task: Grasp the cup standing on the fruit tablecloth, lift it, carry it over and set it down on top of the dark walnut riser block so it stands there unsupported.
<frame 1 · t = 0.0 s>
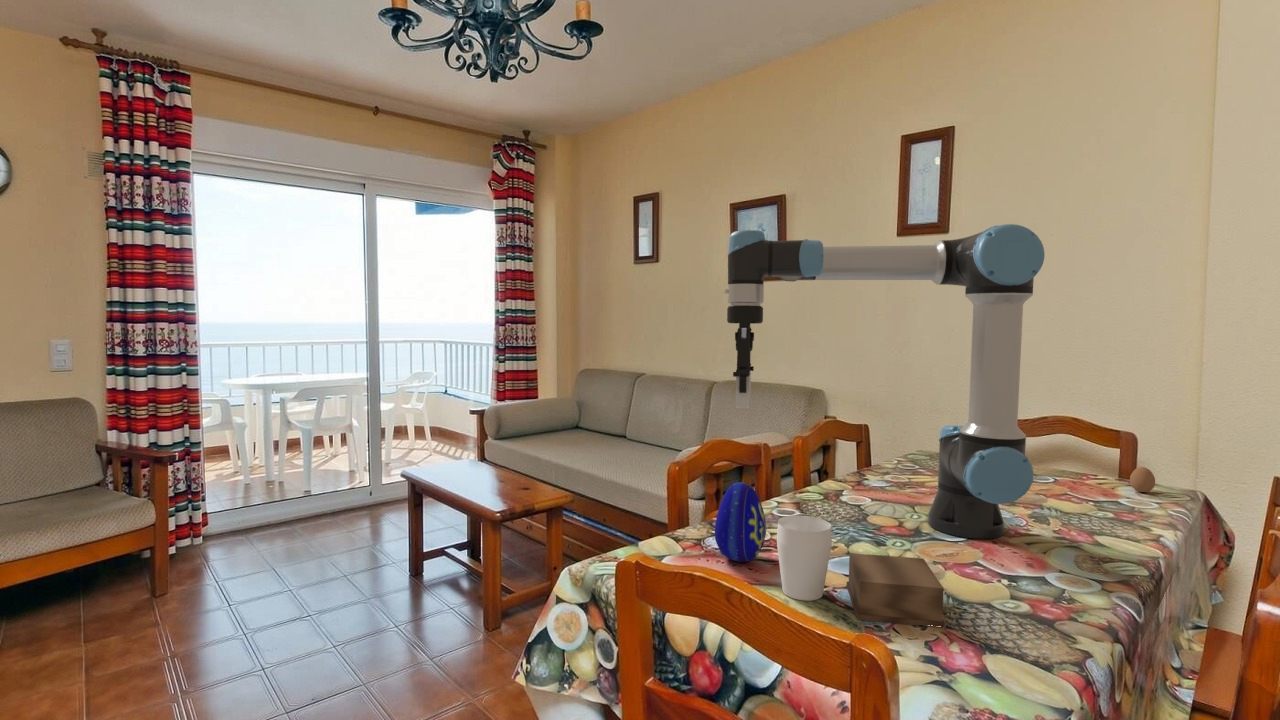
hand: (743, 404, 135), 28 cm above the table, fingers open, 13 cm apart
egg: (1141, 493, 172), on the table
riser: (892, 605, 102), on the table
ornament: (739, 560, 122), on the table
cup: (802, 593, 107), on the table
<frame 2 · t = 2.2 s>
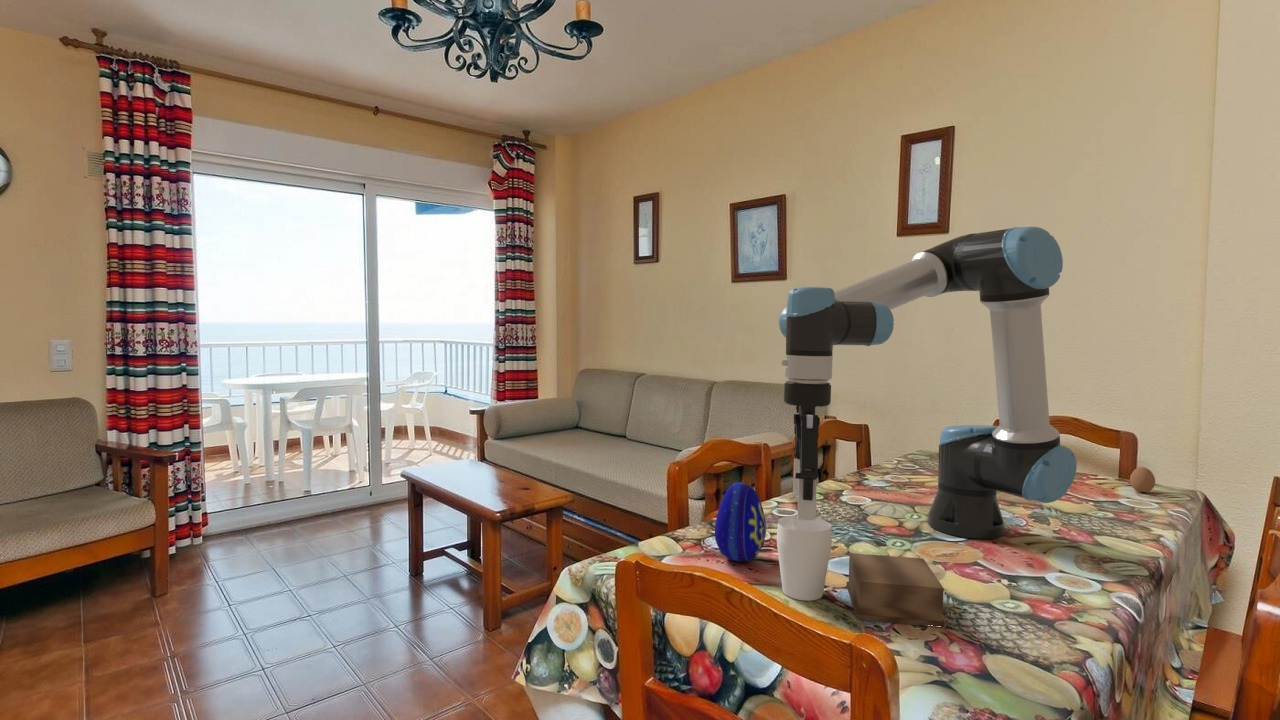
hand: (803, 506, 106), 15 cm above the table, fingers open, 13 cm apart
nothing on the table moved.
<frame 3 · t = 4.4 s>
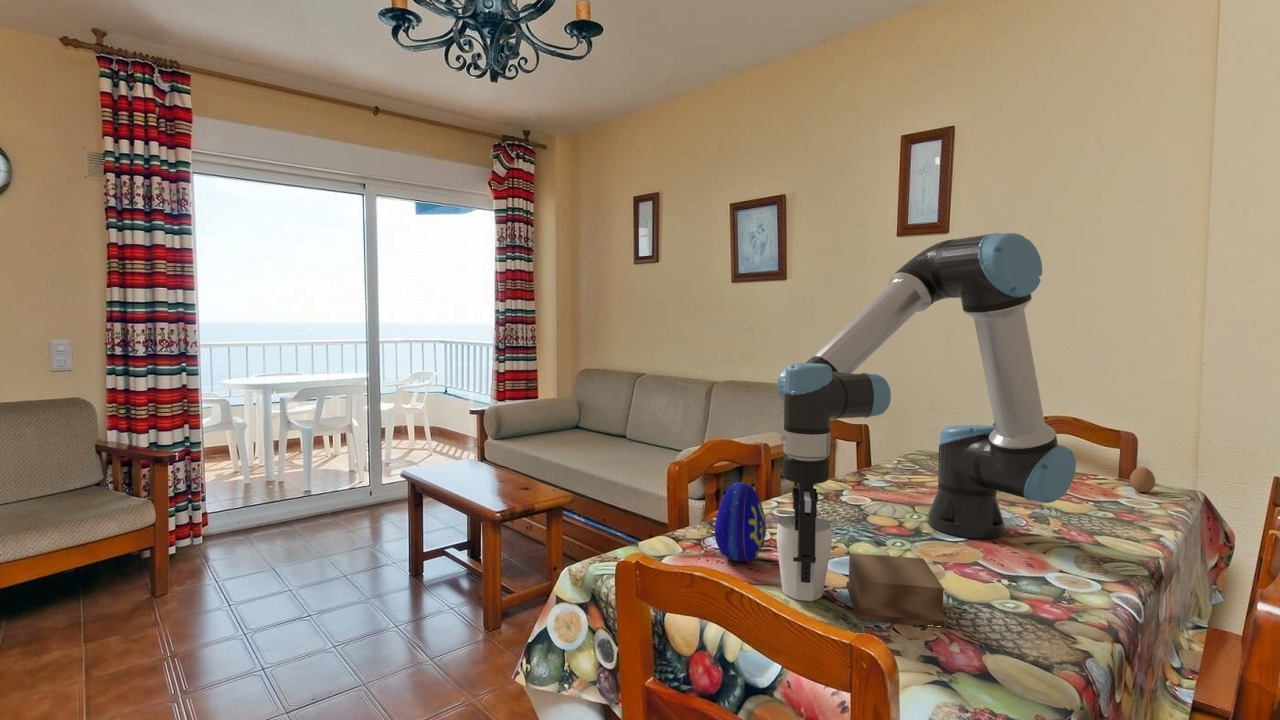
hand: (802, 587, 107), 1 cm above the table, fingers closed on cup, 9 cm apart
cup: (802, 593, 107), on the table, touching gripper
everything else where it was.
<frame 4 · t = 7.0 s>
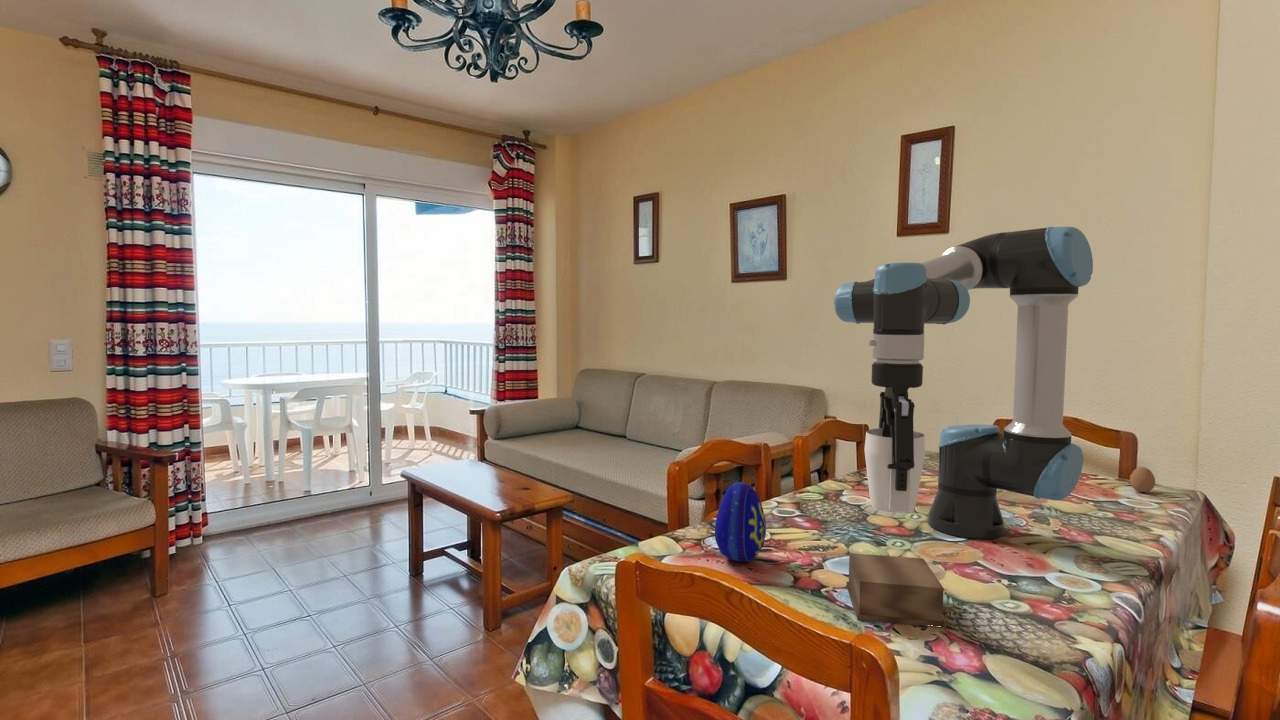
hand: (892, 501, 102), 17 cm above the table, fingers closed on cup, 9 cm apart
cup: (892, 508, 102), point 16 cm above the table, touching gripper
everything else where it was.
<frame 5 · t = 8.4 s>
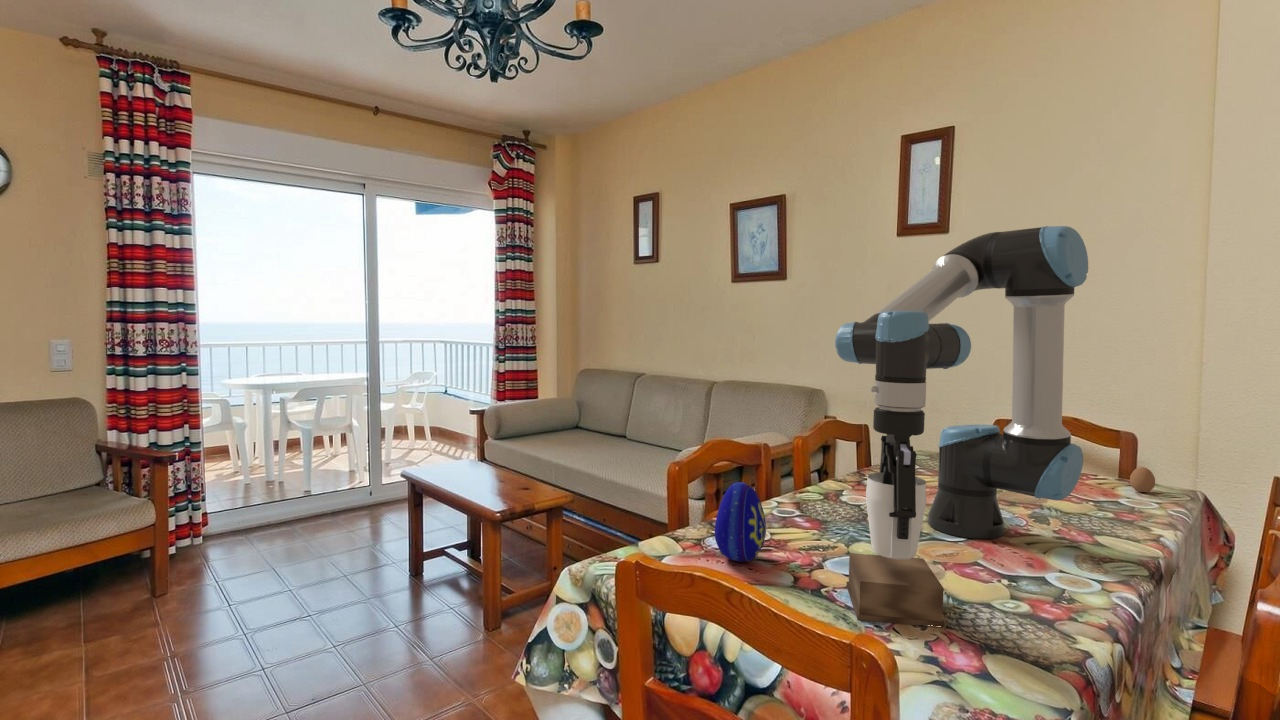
hand: (893, 546, 102), 10 cm above the table, fingers closed on cup, 9 cm apart
cup: (893, 553, 102), point 9 cm above the table, touching gripper
everything else where it was.
when the fingers open (8 cm above the table, at t = 9.6 s): cup drops 1 cm, resting on riser.
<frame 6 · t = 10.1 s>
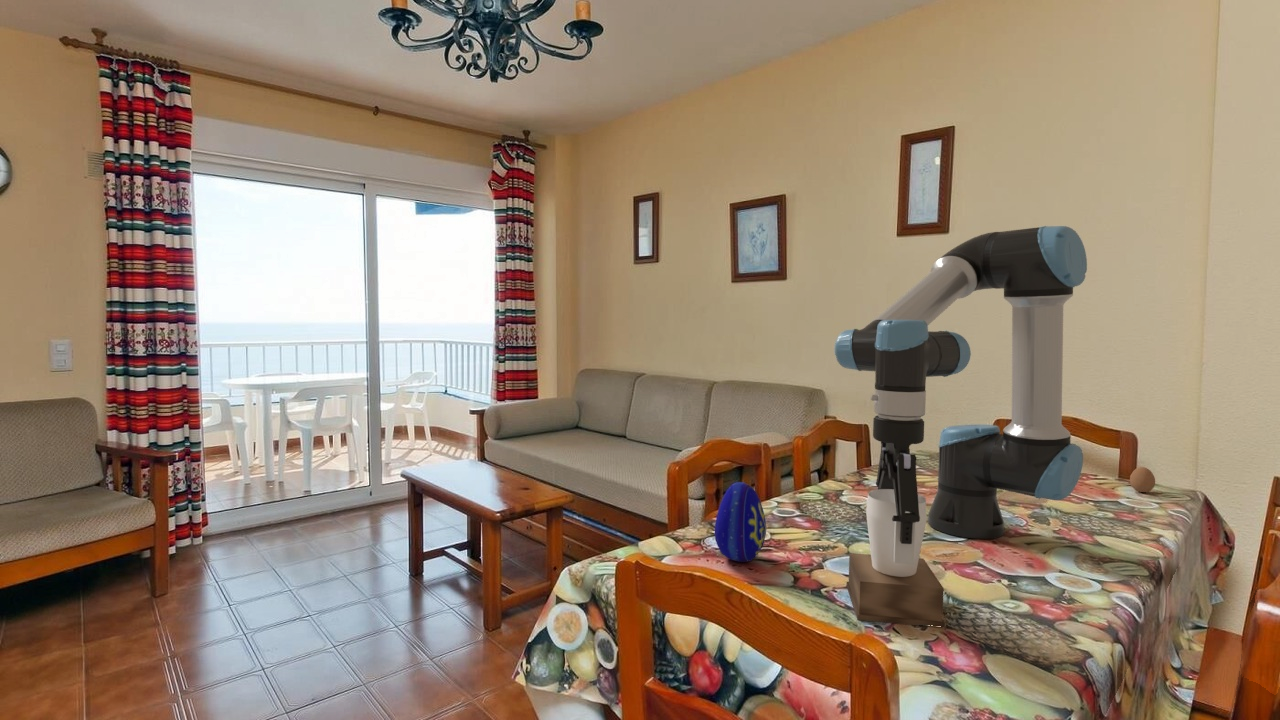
hand: (894, 547, 102), 10 cm above the table, fingers open, 13 cm apart
cup: (893, 570, 102), point 6 cm above the table, touching riser
everything else where it was.
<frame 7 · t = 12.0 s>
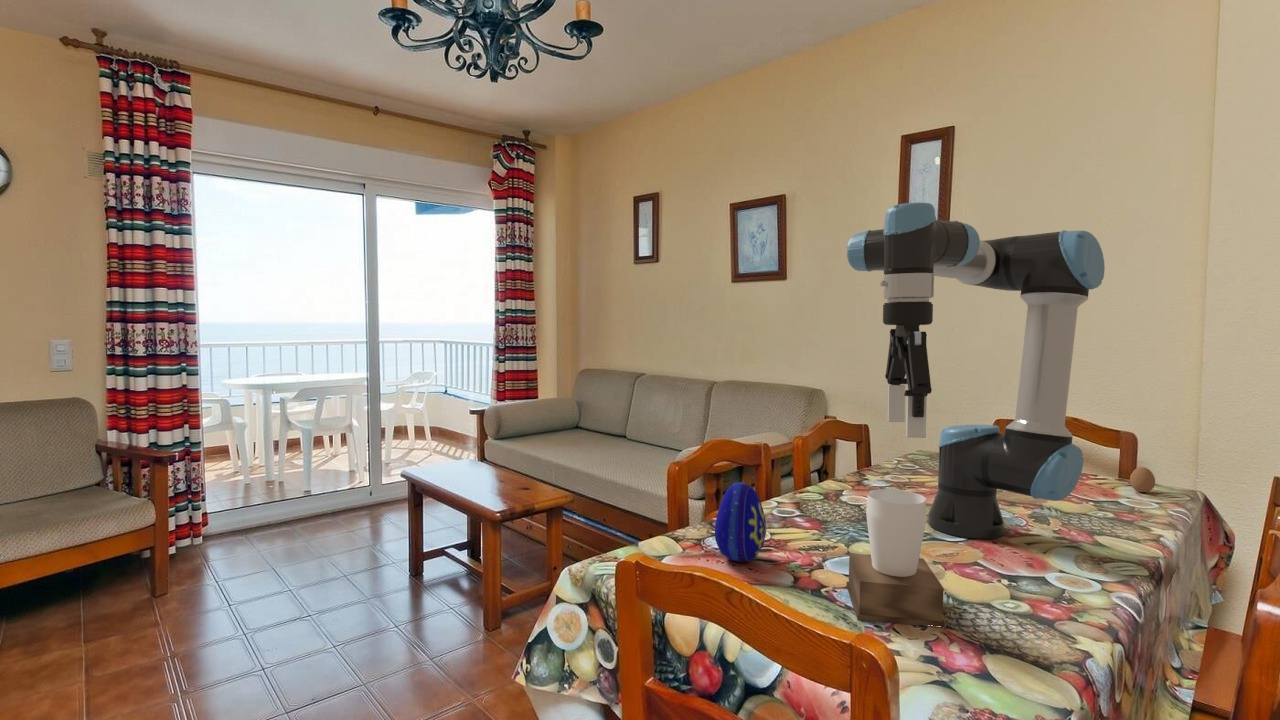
hand: (905, 429, 105), 28 cm above the table, fingers open, 13 cm apart
nothing on the table moved.
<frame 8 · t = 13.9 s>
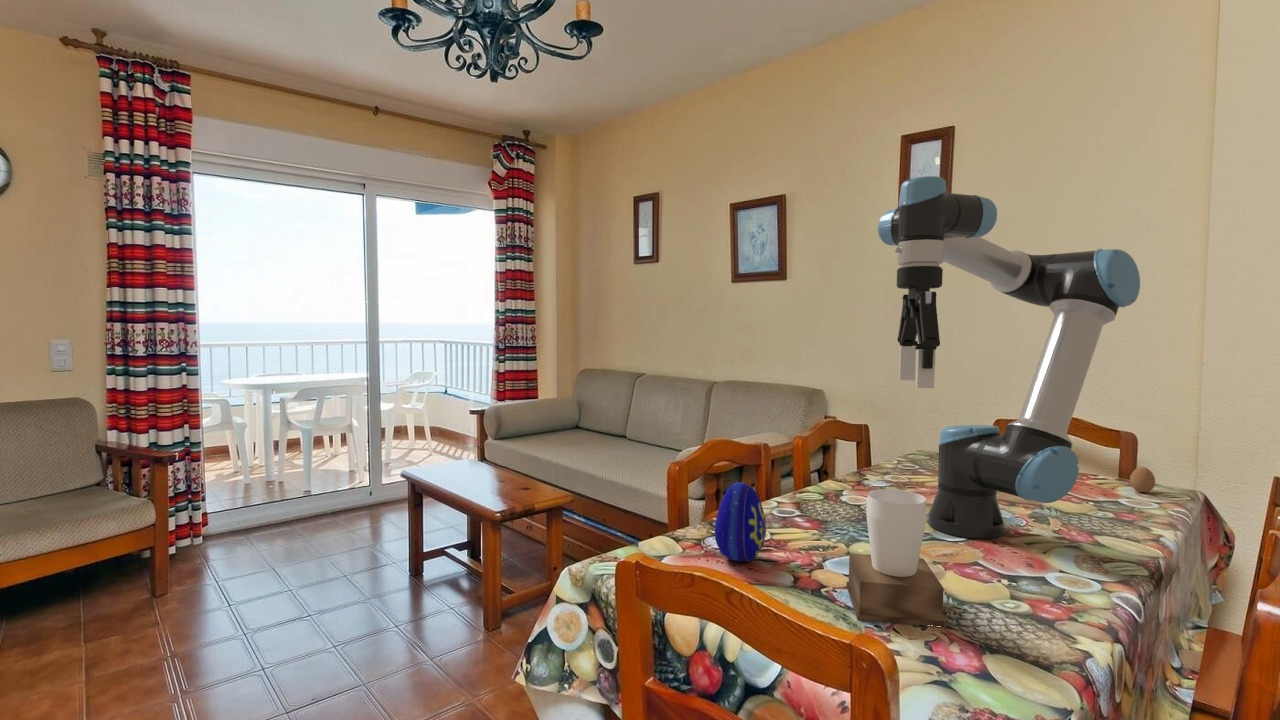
hand: (915, 384, 115), 35 cm above the table, fingers open, 13 cm apart
nothing on the table moved.
at the end: cup inside the target area on the riser (0.1 cm from its centre), point 5.8 cm above the riser's base; cup tilted 0°; the gripper is holding nothing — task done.
